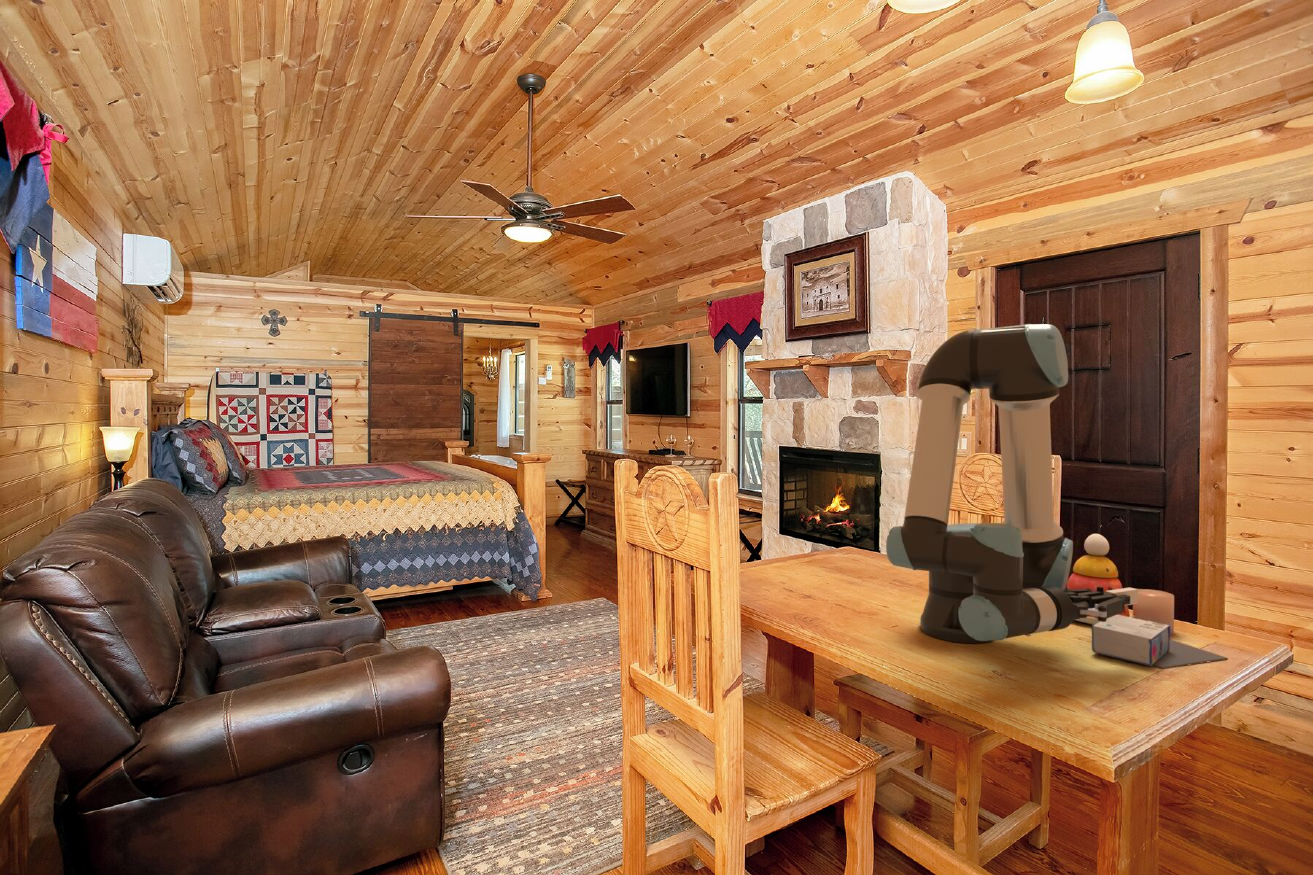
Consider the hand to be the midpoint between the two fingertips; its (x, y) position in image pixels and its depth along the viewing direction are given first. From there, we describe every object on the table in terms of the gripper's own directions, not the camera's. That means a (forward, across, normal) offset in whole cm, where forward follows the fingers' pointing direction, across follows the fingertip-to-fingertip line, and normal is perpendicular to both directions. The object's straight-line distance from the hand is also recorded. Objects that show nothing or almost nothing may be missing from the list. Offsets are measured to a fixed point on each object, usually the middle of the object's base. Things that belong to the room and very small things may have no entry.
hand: (1133, 595), depth 124 cm
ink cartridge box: (-2, -1, -10) cm, 10 cm away
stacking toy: (+17, -20, -13) cm, 30 cm away
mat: (+10, -1, -12) cm, 16 cm away
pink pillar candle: (+22, -11, -13) cm, 27 cm away
